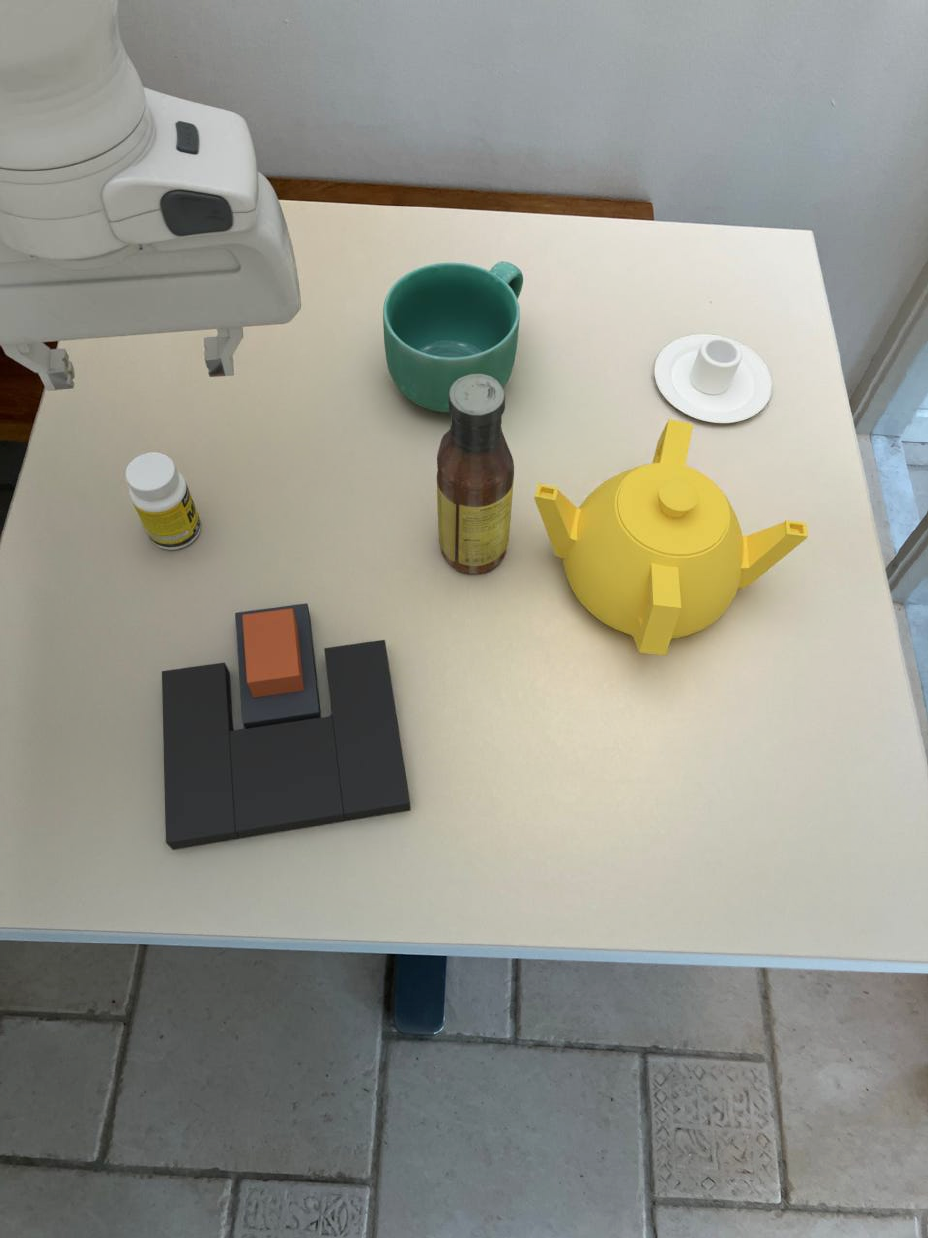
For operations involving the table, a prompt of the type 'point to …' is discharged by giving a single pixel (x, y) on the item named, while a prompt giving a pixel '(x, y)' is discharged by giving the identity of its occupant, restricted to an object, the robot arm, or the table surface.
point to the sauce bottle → (474, 477)
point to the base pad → (280, 755)
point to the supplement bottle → (162, 501)
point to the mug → (451, 328)
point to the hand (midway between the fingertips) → (142, 375)
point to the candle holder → (713, 378)
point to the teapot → (659, 546)
